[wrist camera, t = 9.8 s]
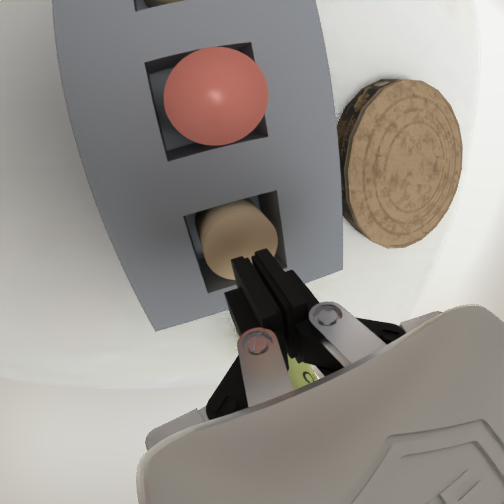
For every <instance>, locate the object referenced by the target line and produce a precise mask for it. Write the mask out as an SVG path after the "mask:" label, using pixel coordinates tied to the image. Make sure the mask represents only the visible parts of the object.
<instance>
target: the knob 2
mask: <svg viewBox="0 0 504 504" xmlns="http://www.w3.org/2000/svg"><path fill="white" fill-rule="evenodd" d="M195 226H196V230H197V233H198V237H199V240H200V243H201V247H202V250H203V253H204V256H205V259H206V262H207V264H208V266H209V267H210V268H211V270H212V271H213V272H214V273H216V274H217V275H219V276H221V277H223V278H226V279H231V280H235V276H234V272H233V268H232V264H231V259H234V258H237V257H240V256H243V257H244V258H247V257H248V258H249V259H250V261H251V263H252V259H251V256H253V255H255V251H258V250H262V249H265V248H267V249H268V250H269V251H270V253H271V254H272V255H273V257H274V255H275V253H276V250H277V245H278V237H277V232H276V230H275V228H274V226H273V224H272V223H271V222H270V221H269V220H268V219H267V217H266V216H265V215H264V214H263V213H262V212H261V211H260V210H259V209H258V208H257V207H256V206H255V205H254V203H253V202H252V201H251V200H250V199H249V198H245V199H241V200H238V201H234V202H230V203H227V204H223V205H220V206H216V207H213V208H209V209H206V210H203V211H199V212H196V216H195Z"/></svg>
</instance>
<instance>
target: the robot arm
mask: <svg viewBox="0 0 504 504" xmlns="http://www.w3.org/2000/svg"><path fill="white" fill-rule="evenodd" d="M251 259H252V263H251V261H250V259H249V258H248V257H247V258H244V257H243V256H240V257H237V258H234V259H231V264H232V268H233V272H234V276H235V280H236V284H237V288H236V289H233V290H230V291H227V292H224V295H225V298H226V302H227V305H228V308H229V311H230V314H231V317H232V320H233V322H234V325H235V327H236V330H237V332H238V335H239V337H240V338H239V340H238V342H237V348H238V353H239V355H238V357H237V358H236V360H235V361H234V363H233V364H232V366H231V367H230V369H229V371H228V372H227V374H226V375H225V377H224V378H223V380H222V381H221V383H220V384H219V386H218V388H217V389H216V390H215V392H214V393H213V395H212V397H211V398H210V399H209V401H208V403H207V405H206V406H205V407H203V408H202V409H200V410H197V408H196V409H194V410H192V411H191V412H189V413H186V414H184V415H182V416H180V417H179V418H176V419H174V420H172V421H170V422H168V423H166V424H164V425H162V426H159V427H157V428H155V429H154V430H152V431H151V432H150V433H149V434H148V436H147V437H146V441H145V444H146V448H147V450H148V451H147V452H146V453H145V455H144V456H143V457H142V458H141V460H140V462H139V464H138V468H137V477H136V479H137V480H136V483H137V494H138V502H139V504H504V322H502V321H501V320H500V319H499V318H498V317H497V316H495V315H494V314H493V313H492V312H490V311H489V310H487V309H486V308H484V307H482V306H479V305H475V304H471V305H463V306H458V307H455V308H452V309H449V310H447V311H444V312H439V311H437V312H432V313H429V314H426V315H423V316H420V317H417V318H414V319H411V320H408V321H404V322H401V323H400V325H399V326H398V325H395V324H391V323H385V322H379V321H373V320H367V319H361V318H355V317H354V316H353V315H352V314H351V313H349V312H348V311H347V310H346V309H345V308H343V307H342V306H341V305H339V304H338V303H334V302H321V303H319V302H318V300H317V299H316V298H315V297H314V295H313V294H312V293H311V291H310V290H309V289H308V288H307V286H306V285H305V284H304V283H303V281H302V280H301V279H300V278H299V276H298V275H297V274H296V273H295V271H294V270H289V271H286V272H285V271H284V270H283V269H282V267H281V266H280V265H279V263H278V262H277V261H276V259H275V258H274V257H273V255H272V254H271V253H270V251H269V250H268V249H267V248H265V249H262V250H258V251H255V255H253V256H251ZM287 353H288V355H289V357H290V358H291V359H293V358H295V359H296V361H297V362H298V364H299V363H301V362H303V363H307V364H310V365H311V368H312V369H313V371H314V372H315V373H316V374H317V375H318V376H319V378H320V379H319V380H316V381H314V382H312V383H310V384H307V385H305V386H303V387H300V388H298V389H296V390H293V388H292V385H291V381H290V378H289V375H288V370H289V363H288V355H287Z"/></svg>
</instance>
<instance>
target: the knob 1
mask: <svg viewBox="0 0 504 504" xmlns="http://www.w3.org/2000/svg"><path fill="white" fill-rule="evenodd" d="M179 1H185V0H144V2H145V4H146V5H147V7H148V8H151V7H156V6H160V5H164V4H169V3H174V2H179Z"/></svg>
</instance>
